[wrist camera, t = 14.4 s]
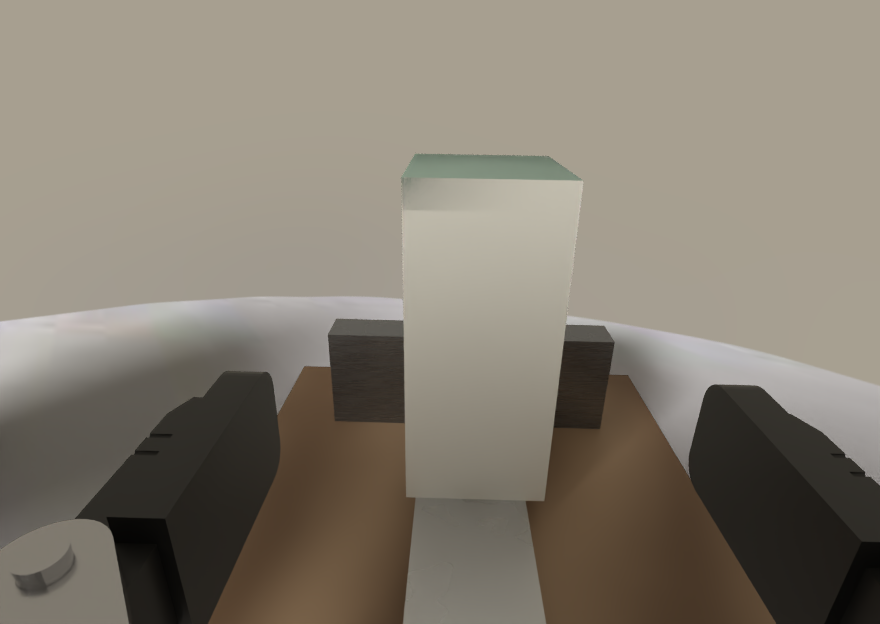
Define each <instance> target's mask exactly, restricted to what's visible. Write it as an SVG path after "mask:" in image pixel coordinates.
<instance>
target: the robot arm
mask: <svg viewBox="0 0 880 624" xmlns="http://www.w3.org/2000/svg"><path fill="white" fill-rule="evenodd" d="M280 450H281V445H280V435H279V427H278V419H277V411H276V404H275V396H274V388H273V382H272V378H271V376H270V374H269V373H267V372H241V371H226V372H224V373H223V374H222V375H221V376H220V377H219V378H218V380H217V381H216V382H215V383H214V385H213V386H212V387H211V388H210V389H209V391H208V392H207V393H206V394H205V396H204V397H203V398H197V397H193V398H192V399H190V400H189V401H187V402H185V403H184V404H182V405H181V406H179V407H177V408H176V409H174V410H173V411H171V412H169V413H168V414H167V415H166V416H165V417H164V418H163V419H162V420H161V422H160V423H159V424H158V425H157V426H156V427H155V428H154V430H153V431H152V432H151V433H150V437H149V438H146V439H145V440H144V441H143V442H142V443H141V444H140V445H139V447H138V448H137V449H136V450H135V454H134V455H131V456H130V457H129V458H128V459H127V460H126V461H125V462H124V464H123V465H122V466H121V467H120V468H119V469H118V470H117V472H116V473H115V474H114V475H113V476H112V477H111V478H110V480H109V481H108V482H107V483H106V484H105V485H104V486H103V487H102V489H101V490H100V491H99V492H98V493H97V494H96V495H95V497H94V498H93V499H92V500H91V501H90V502H89V503H88V505H87V506H86V507H85V508H84V509H83V510H82V511H81V512H80V514H79V515H78V516H77V517H76V518H75V519H73V520H65V521H61V522H56V523H53V524H49V525H46V526H43V527H41V528H38V529H36V530H33V531H31V532H29V533H27V534H25V535H23V536H21V537H19V538H17V539H16V540H14V541H12V542H11V543H9V544H8V545H6V546H5V547H3V548H2V549H1V550H0V624H208V623H209V620H210V618H211V616H212V614H213V612H214V610H215V607H216V605H217V603H218V601H219V599H220V596H221V594H222V592H223V590H224V588H225V586H226V583H227V581H228V579H229V577H230V575H231V572H232V570H233V568H234V566H235V564H236V561H237V559H238V557H239V555H240V553H241V551H242V548H243V546H244V544H245V542H246V540H247V537H248V535H249V533H250V531H251V529H252V526H253V524H254V522H255V520H256V518H257V516H258V513H259V511H260V509H261V507H262V505H263V502H264V500H265V498H266V496H267V494H268V492H269V489H270V487H271V485H272V483H273V481H274V478H275V476H276V473H277V470H278V466H279V461H280ZM689 473H690V478H691V481H692V484H693V487H694V489H695V491H696V492H697V494H698V496H699V497H700V499H701V501H702V502H703V504H704V506H705V507H706V509H707V510H708V512H709V514H710V515H711V517H712V519H713V520H714V522H715V524H716V525H717V527H718V529H719V530H720V532H721V534H722V535H723V537H724V538H725V540H726V542H727V543H728V545H729V547H730V548H731V550H732V552H733V553H734V555H735V557H736V558H737V560H738V561H739V563H740V565H741V566H742V568H743V570H744V571H745V573H746V575H747V576H748V578H749V580H750V581H751V583H752V585H753V586H754V588H755V589H756V591H757V593H758V594H759V596H760V598H761V599H762V601H763V603H764V604H765V606H766V608H767V609H768V611H769V613H770V614H771V616H772V617H773V619H774V621H775V622H776V624H880V486H879V485H878V484H877V483H876V482H875V481H874V480H873V479H872V478H871V477H866V476H865V472H864V471H863V470H862V469H861V468H860V467H859V466H858V465H857V464H856V463H855V462H854V461H852V460H851V459H850V458H846V457H845V453H844V452H843V451H842V450H841V449H839V448H838V447H837V446H836V445H835V444H834V443H833V442H832V441H831V440H830V439H829V438H828V437H827V436H825V435H824V434H823V433H822V432H821V431H819V430H817V429H815V428H814V427H812V426H810V425H809V424H807V423H805V422H803V421H802V420H800V419H798V418H797V417H795V416H793V415H791V414H788V413H787V412H786V411H785V410H784V409H783V408H782V407H781V406H780V405H779V404H778V403H777V402H776V401H775V400H774V399H773V398H772V397H771V396H770V395H769V394H768V393H767V392H766V391H765V390H763V389H762V388H761V387H759V386H751V385H712V386H710V387H709V388H708V389H707V391H706V393H705V395H704V398H703V402H702V406H701V410H700V414H699V418H698V422H697V426H696V430H695V434H694V437H693V441H692V445H691V449H690V453H689Z"/></svg>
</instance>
